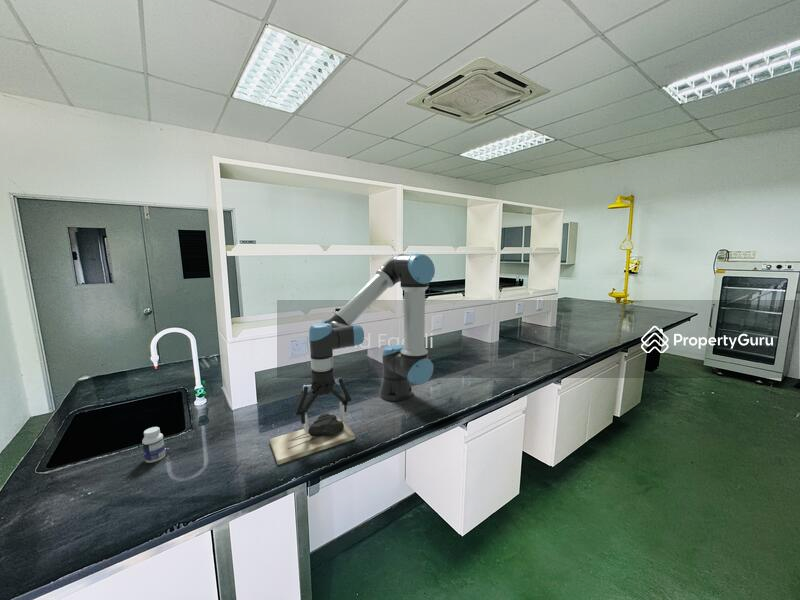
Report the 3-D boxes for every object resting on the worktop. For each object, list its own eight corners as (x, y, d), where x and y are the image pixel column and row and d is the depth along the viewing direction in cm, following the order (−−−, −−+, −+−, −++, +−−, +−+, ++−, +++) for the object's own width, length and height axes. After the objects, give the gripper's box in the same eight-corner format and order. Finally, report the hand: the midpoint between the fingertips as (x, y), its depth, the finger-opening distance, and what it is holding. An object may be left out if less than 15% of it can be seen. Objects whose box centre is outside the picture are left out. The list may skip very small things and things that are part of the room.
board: (340, 421, 124) (340, 418, 124) (355, 438, 112) (354, 434, 112) (269, 442, 110) (269, 438, 110) (277, 464, 99) (277, 460, 98)
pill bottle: (143, 458, 103) (139, 430, 102) (164, 450, 107) (160, 423, 105) (145, 465, 99) (142, 436, 98) (166, 457, 103) (163, 429, 102)
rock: (346, 429, 117) (322, 419, 120) (347, 417, 115) (323, 407, 118) (330, 450, 108) (305, 439, 111) (332, 438, 106) (306, 426, 108)
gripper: (350, 359, 120) (352, 412, 123) (282, 371, 107) (286, 431, 110) (359, 364, 114) (360, 420, 116) (288, 379, 101) (291, 441, 103)
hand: (324, 425), depth 113 cm, fingers closed on rock, 13 cm apart
